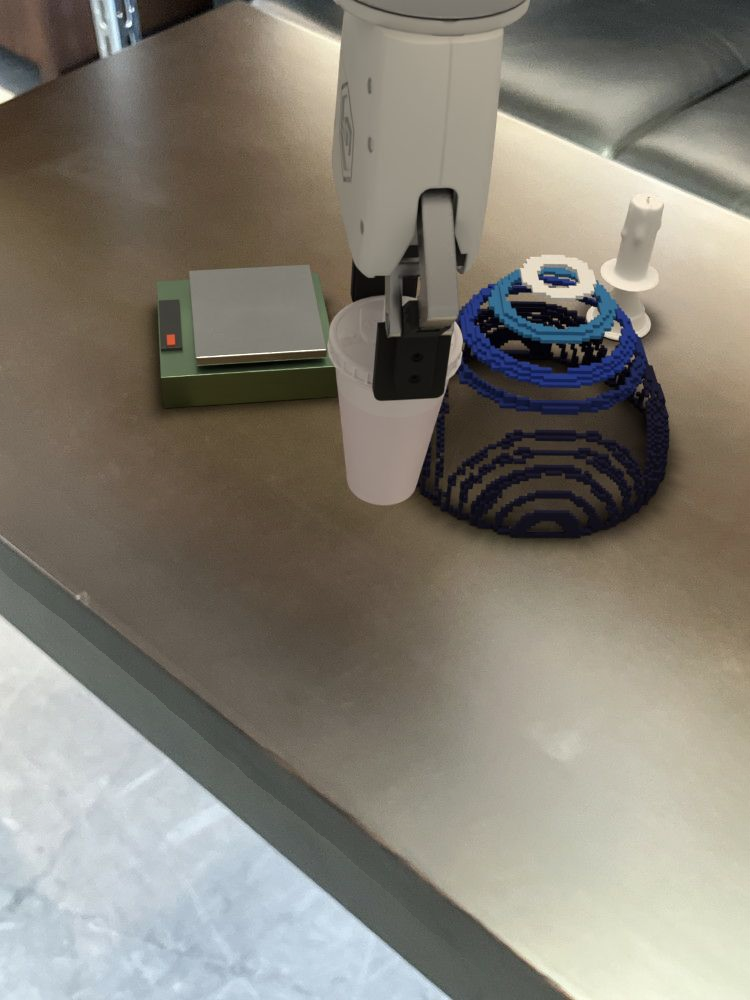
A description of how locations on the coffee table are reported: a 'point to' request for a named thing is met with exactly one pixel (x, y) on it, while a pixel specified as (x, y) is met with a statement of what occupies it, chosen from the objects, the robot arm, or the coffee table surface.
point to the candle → (633, 264)
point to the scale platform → (255, 315)
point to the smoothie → (379, 409)
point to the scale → (236, 380)
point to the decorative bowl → (586, 374)
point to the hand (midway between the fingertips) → (394, 343)
